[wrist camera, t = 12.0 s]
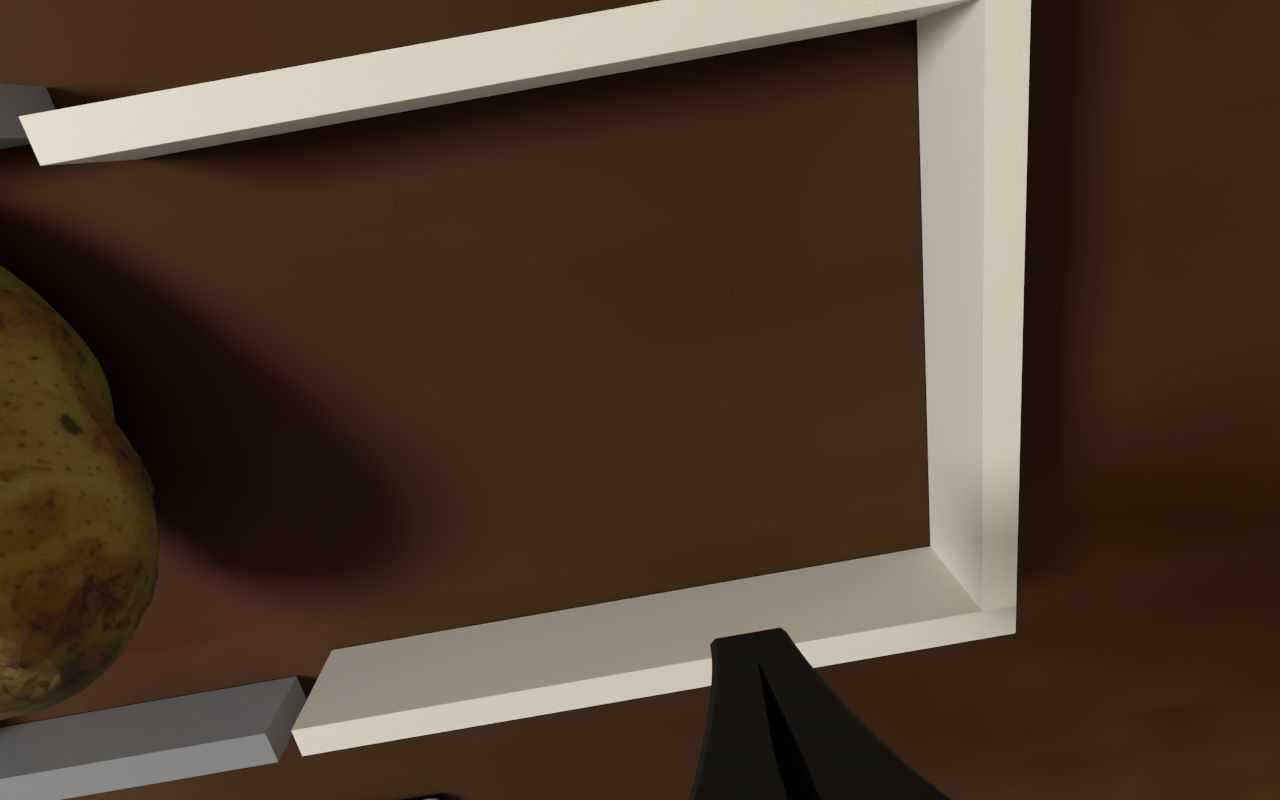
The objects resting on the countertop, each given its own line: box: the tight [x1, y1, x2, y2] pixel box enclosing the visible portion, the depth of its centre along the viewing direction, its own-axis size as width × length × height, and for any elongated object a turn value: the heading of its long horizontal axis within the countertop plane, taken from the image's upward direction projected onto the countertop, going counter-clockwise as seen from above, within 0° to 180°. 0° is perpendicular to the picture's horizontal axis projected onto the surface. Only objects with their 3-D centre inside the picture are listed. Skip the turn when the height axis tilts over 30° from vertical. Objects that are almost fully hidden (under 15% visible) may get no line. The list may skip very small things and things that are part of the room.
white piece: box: [18, 0, 1031, 756], centre depth 20 cm, size 18×22×4 cm
